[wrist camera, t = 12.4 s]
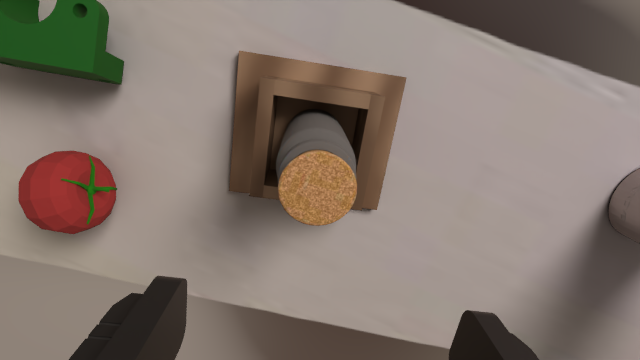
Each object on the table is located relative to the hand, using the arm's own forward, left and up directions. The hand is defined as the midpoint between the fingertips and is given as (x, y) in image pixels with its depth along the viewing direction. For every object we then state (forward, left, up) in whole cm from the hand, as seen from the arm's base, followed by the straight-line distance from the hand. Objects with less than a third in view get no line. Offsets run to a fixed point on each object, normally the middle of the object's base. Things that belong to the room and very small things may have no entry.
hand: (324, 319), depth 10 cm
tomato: (+22, +8, -27) cm, 36 cm away
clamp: (+24, -6, -27) cm, 37 cm away
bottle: (0, 0, -26) cm, 26 cm away
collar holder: (0, 0, -27) cm, 27 cm away
